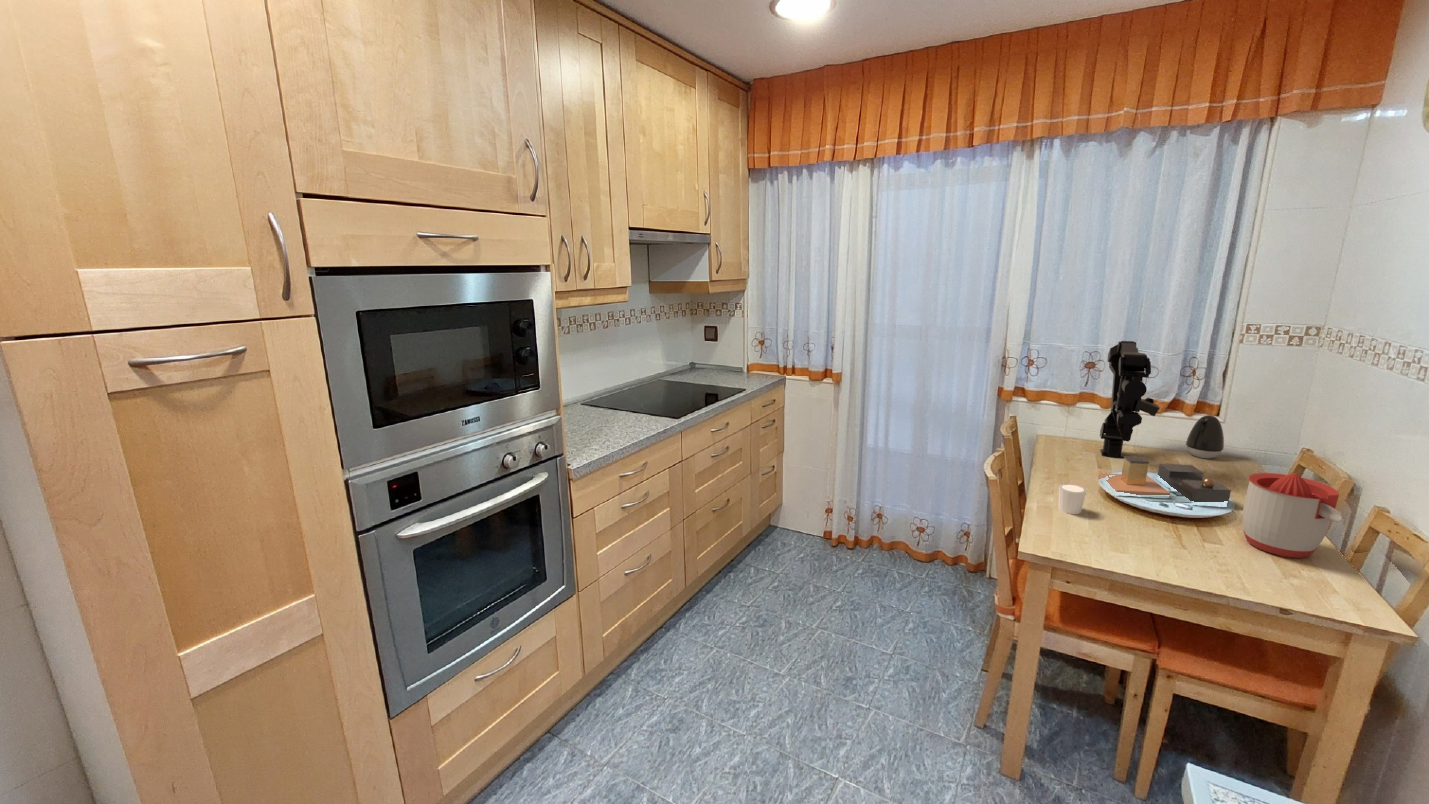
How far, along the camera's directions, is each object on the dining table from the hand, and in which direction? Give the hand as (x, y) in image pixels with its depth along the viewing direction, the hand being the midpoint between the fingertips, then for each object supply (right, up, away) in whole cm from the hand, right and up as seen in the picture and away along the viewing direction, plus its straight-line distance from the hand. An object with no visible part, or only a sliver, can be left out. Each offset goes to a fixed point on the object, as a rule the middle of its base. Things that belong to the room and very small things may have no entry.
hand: (1122, 436), depth 191 cm
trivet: (-6, -16, -12) cm, 21 cm away
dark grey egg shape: (+37, -8, +12) cm, 40 cm away
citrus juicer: (+4, -25, -49) cm, 56 cm away
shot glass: (-34, -20, -25) cm, 47 cm away
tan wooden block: (-6, -14, -13) cm, 20 cm away
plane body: (+9, -16, -17) cm, 25 cm away
